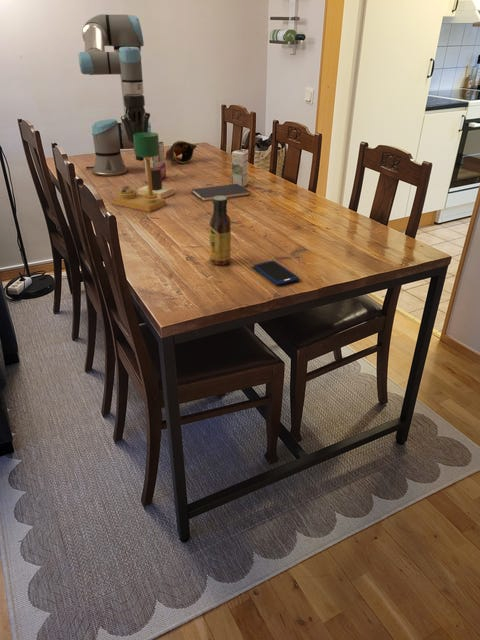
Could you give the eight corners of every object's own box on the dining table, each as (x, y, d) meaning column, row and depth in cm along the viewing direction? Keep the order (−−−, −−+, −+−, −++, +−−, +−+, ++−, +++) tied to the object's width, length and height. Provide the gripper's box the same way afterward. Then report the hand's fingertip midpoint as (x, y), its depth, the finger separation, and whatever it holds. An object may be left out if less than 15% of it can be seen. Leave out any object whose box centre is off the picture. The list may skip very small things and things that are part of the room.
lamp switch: (120, 193, 190) (119, 188, 189) (126, 191, 193) (126, 185, 192) (127, 195, 189) (127, 189, 188) (134, 192, 192) (133, 187, 191)
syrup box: (248, 184, 217) (248, 150, 209) (242, 187, 212) (243, 153, 205) (236, 182, 219) (237, 149, 211) (231, 185, 214) (231, 152, 207)
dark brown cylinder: (145, 189, 200) (144, 168, 196) (154, 185, 204) (152, 165, 200) (156, 191, 198) (154, 170, 193) (164, 187, 202) (163, 167, 197)
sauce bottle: (209, 257, 147) (208, 193, 137) (229, 257, 148) (230, 193, 137) (210, 266, 142) (208, 200, 131) (231, 266, 142) (231, 200, 132)
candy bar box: (156, 176, 227) (154, 139, 218) (166, 177, 225) (163, 140, 217) (145, 182, 218) (142, 144, 209) (155, 183, 216) (152, 145, 208)
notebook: (237, 187, 213) (192, 192, 205) (237, 183, 212) (192, 189, 204) (250, 195, 203) (203, 201, 195) (250, 191, 202) (203, 197, 194)
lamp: (134, 198, 184) (127, 135, 172) (149, 192, 191) (143, 131, 179) (152, 201, 181) (147, 137, 169) (167, 195, 187) (163, 133, 175)
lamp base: (113, 203, 191) (111, 194, 189) (129, 197, 198) (128, 187, 196) (149, 211, 183) (148, 201, 181) (165, 204, 190) (165, 194, 188)
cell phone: (278, 286, 131) (278, 283, 131) (252, 267, 142) (252, 264, 141) (300, 280, 134) (300, 278, 134) (273, 262, 145) (273, 259, 144)
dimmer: (137, 195, 201) (136, 188, 200) (152, 189, 208) (151, 183, 207) (160, 199, 196) (159, 193, 195) (174, 193, 203) (174, 187, 202)
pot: (179, 138, 259) (194, 132, 244) (189, 157, 264) (204, 153, 249) (154, 152, 253) (167, 147, 238) (164, 172, 258) (178, 168, 243)
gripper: (127, 97, 171) (134, 164, 184) (153, 94, 180) (158, 158, 193) (113, 95, 175) (120, 161, 188) (139, 92, 184) (145, 155, 197)
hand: (139, 159), depth 190 cm, fingers closed
